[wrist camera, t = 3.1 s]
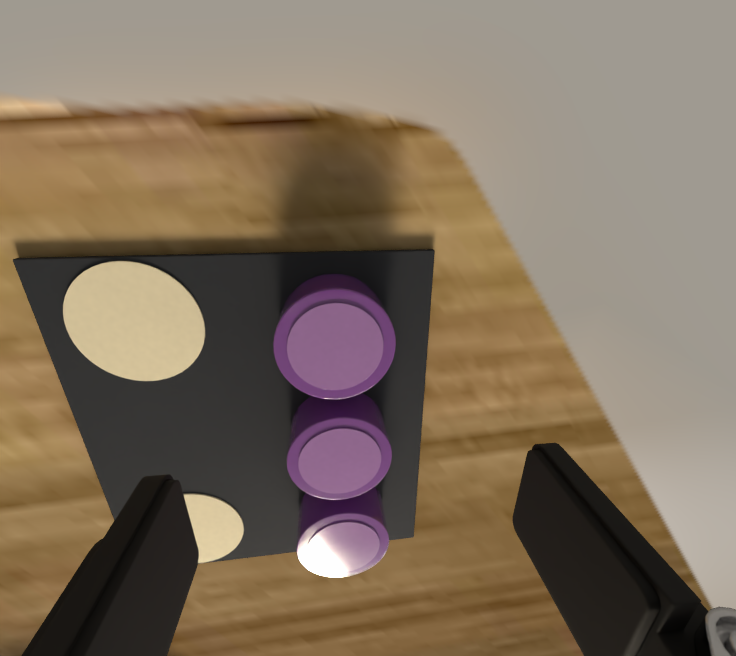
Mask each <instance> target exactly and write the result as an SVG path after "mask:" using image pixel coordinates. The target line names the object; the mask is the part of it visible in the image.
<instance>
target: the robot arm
mask: <svg viewBox="0 0 736 656" xmlns="http://www.w3.org/2000/svg"><path fill="white" fill-rule="evenodd" d="M513 525H514V529H515V531H516V533H517V535H518V537H519V539H520V540H521V542H522V544H523V546H524V548H525V549H526V551H527V553H528V555H529V557H530V558H531V560H532V562H533V564H534V566H535V568H536V569H537V571H538V573H539V575H540V577H541V578H542V580H543V582H544V584H545V586H546V588H547V589H548V591H549V593H550V595H551V597H552V598H553V600H554V602H555V604H556V606H557V607H558V609H559V611H560V613H561V615H562V617H563V618H564V620H565V622H566V624H567V626H568V627H569V629H570V631H571V633H572V635H573V636H574V638H575V640H576V642H577V644H578V646H579V647H580V649H581V651H582V653H583V655H584V656H736V610H735V609H732V608H725V607H717V608H713V609H710V611H709V612H708V611H707V609H706V608H705V607H704V606H703V605H702V604H701V603H700V602H701V600H700V599H699V598H698V597H697V596H696V594H695V593H694V592H693V591H692V590H691V589H690V588H689V587H688V586H687V585H686V583H685V582H684V581H683V580H682V579H681V578H680V577H679V576H678V575H677V574H676V572H675V571H674V570H673V569H672V568H671V567H670V566H669V565H668V564H667V563H666V561H665V560H664V559H663V558H662V557H661V556H660V555H659V554H658V553H657V552H656V550H655V549H654V548H653V547H652V546H651V545H650V544H649V543H648V542H647V540H646V539H645V538H644V537H643V536H642V535H641V534H640V533H639V532H638V531H637V529H636V528H635V527H634V526H633V525H632V524H631V523H630V522H629V521H628V520H627V518H626V517H625V516H624V515H623V514H622V513H621V512H620V511H619V510H618V509H617V507H616V506H615V505H614V504H613V503H612V502H611V501H610V500H609V499H608V498H607V496H606V495H605V494H604V493H603V492H602V491H601V490H600V489H599V488H598V487H597V485H596V484H595V483H594V482H593V481H592V480H591V479H590V478H589V477H588V476H587V474H586V473H585V472H584V471H583V470H582V469H581V468H580V467H579V466H578V465H577V463H576V462H575V461H574V460H573V459H572V458H571V457H570V456H569V455H568V454H567V452H566V451H565V450H564V449H563V448H562V447H561V446H560V445H559V444H557V443H546V444H535V445H534V446H533V448H532V450H529V451H528V453H527V457H526V461H525V466H524V470H523V474H522V479H521V483H520V488H519V492H518V496H517V501H516V505H515V509H514V514H513ZM198 559H199V550H198V546H197V543H196V539H195V535H194V532H193V528H192V524H191V521H190V517H189V513H188V510H187V506H186V502H185V499H184V495H183V492H182V488H181V484H180V482H179V480H174V479H173V477H172V476H171V475H170V474H167V475H154V476H145V477H143V478H142V479H141V480H140V482H139V483H138V485H137V486H136V488H135V489H134V491H133V493H132V494H131V496H130V497H129V499H128V500H127V502H126V504H125V505H124V507H123V508H122V510H121V511H120V513H119V515H118V516H117V518H116V519H115V521H114V523H113V524H112V526H111V527H110V529H109V530H108V532H107V534H106V535H105V537H104V538H103V539H101V540H100V541H98V542H97V543H96V544H95V545H94V546H93V547H92V549H91V550H90V551H89V553H88V554H87V556H86V557H85V559H84V560H83V562H82V563H81V565H80V567H79V568H78V570H77V571H76V573H75V574H74V576H73V577H72V579H71V580H70V582H69V583H68V585H67V587H66V588H65V590H64V591H63V593H62V594H61V596H60V597H59V599H58V600H57V602H56V603H55V605H54V607H53V608H52V610H51V611H50V613H49V614H48V616H47V617H46V619H45V620H44V622H43V623H42V625H41V627H40V628H39V630H38V631H37V633H36V634H35V636H34V637H33V639H32V640H31V642H30V643H29V645H28V647H27V648H26V650H25V651H24V653H23V654H22V656H167V654H168V651H169V648H170V645H171V642H172V639H173V636H174V633H175V630H176V627H177V624H178V621H179V618H180V615H181V612H182V610H183V607H184V604H185V601H186V598H187V595H188V592H189V589H190V586H191V583H192V580H193V577H194V574H195V571H196V568H197V565H198Z"/></svg>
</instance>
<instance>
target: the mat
mask: <svg viewBox="0 0 736 656" xmlns="http://www.w3.org/2000/svg"><path fill="white" fill-rule="evenodd" d="M13 262H14V265H15V267H16V270H17V272H18V275H19V277H20V280H21V282H22V285H23V288H24V290H25V293H26V295H27V298H28V300H29V303H30V305H31V308H32V311H33V313H34V316H35V318H36V321H37V323H38V326H39V328H40V331H41V333H42V336H43V339H44V341H45V344H46V346H47V349H48V351H49V354H50V356H51V359H52V362H53V364H54V367H55V369H56V372H57V374H58V377H59V379H60V382H61V385H62V387H63V390H64V392H65V395H66V397H67V400H68V402H69V405H70V408H71V410H72V413H73V415H74V418H75V420H76V423H77V425H78V428H79V431H80V433H81V436H82V438H83V441H84V443H85V446H86V448H87V451H88V453H89V456H90V459H91V461H92V464H93V466H94V469H95V471H96V474H97V476H98V479H99V482H100V484H101V487H102V489H103V492H104V494H105V497H106V499H107V502H108V505H109V507H110V510H111V512H112V515H113V517H114V520H115V519H116V518H117V516H118V515H119V513H120V511H121V510H122V508H123V507H124V505H125V504H126V502H127V500H128V499H129V497H130V496H131V494H132V493H133V491H134V489H135V488H136V486H137V485H138V483H139V482H140V480H141V479H142V478H143V477H145V476H154V475H167V474H170V475H171V476H172V477H173V479H174V480H179V482H180V484H181V488H182V492H183V495H184V499H185V502H186V506H187V510H188V513H189V517H190V521H191V524H192V528H193V532H194V535H195V539H196V543H197V546H198V550H199V559H198V564H200V563H208V562H216V561H224V560H232V559H240V558H248V557H257V556H265V555H273V554H281V553H289V552H297V533H298V518H299V506H300V503H301V500H302V498H303V496H304V495H305V494H306V493H305V492H304V491H303V490H301V489H300V488H299V487H298V486H297V485H296V484H295V483H294V482H293V481H292V479H291V477H290V475H289V473H288V470H287V452H288V444H289V436H290V428H291V421H292V418H293V416H294V414H295V412H296V410H297V409H298V407H299V406H300V405H301V404H302V403H303V402H304V401H305V400H306V399H308V398H309V397H311V395H308V394H306V393H304V392H302V391H300V390H299V389H297V388H296V387H294V386H293V385H292V384H291V383H290V382H289V381H288V380H287V379H286V378H285V377H284V375H283V374H282V373H281V371H280V369H279V367H278V365H277V363H276V360H275V356H274V351H273V340H274V334H275V330H276V326H277V323H278V320H279V317H280V314H281V311H282V308H283V306H284V303H285V301H286V300H287V298H288V296H289V295H290V294H291V293H292V292H293V290H295V289H296V288H297V287H298V286H299V285H301V284H302V283H303V282H305V281H307V280H309V279H311V278H314V277H316V276H320V275H326V274H341V275H347V276H350V277H353V278H356V279H358V280H360V281H362V282H363V283H365V284H366V285H367V286H369V287H370V288H371V289H372V290H373V291H374V292H375V293H376V295H377V296H378V298H379V299H380V301H381V303H382V305H383V307H384V308H385V310H386V312H387V314H388V316H389V318H390V320H391V322H392V324H393V327H394V331H395V336H396V348H395V354H394V358H393V360H392V363H391V365H390V367H389V369H388V371H387V372H386V373H385V375H384V376H383V377H382V378H381V379H380V380H379V382H377V383H376V384H375V385H374V386H373V387H371V388H370V389H368V390H367V391H365V392H363V394H365V395H367V396H368V397H370V398H371V399H372V400H373V401H374V402H375V403H376V404H377V405H378V407H379V408H380V410H381V413H382V415H383V419H384V423H385V426H386V430H387V433H388V437H389V441H390V444H391V449H392V460H391V464H390V467H389V470H388V472H387V473H386V475H385V477H384V478H383V479H382V480H381V481H380V482H379V483H378V484H377V485H376V486H375V488H376V489H377V490H378V491H379V493H380V495H381V499H382V504H383V509H384V514H385V519H386V524H387V529H388V534H389V540H395V539H403V538H411V537H414V523H415V510H416V496H417V482H418V469H419V455H420V442H421V428H422V414H423V401H424V387H425V373H426V360H427V346H428V332H429V319H430V305H431V292H432V278H433V264H434V250H433V249H419V250H371V251H323V252H276V253H228V254H181V255H133V256H85V257H38V258H16V259H13Z"/></svg>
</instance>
